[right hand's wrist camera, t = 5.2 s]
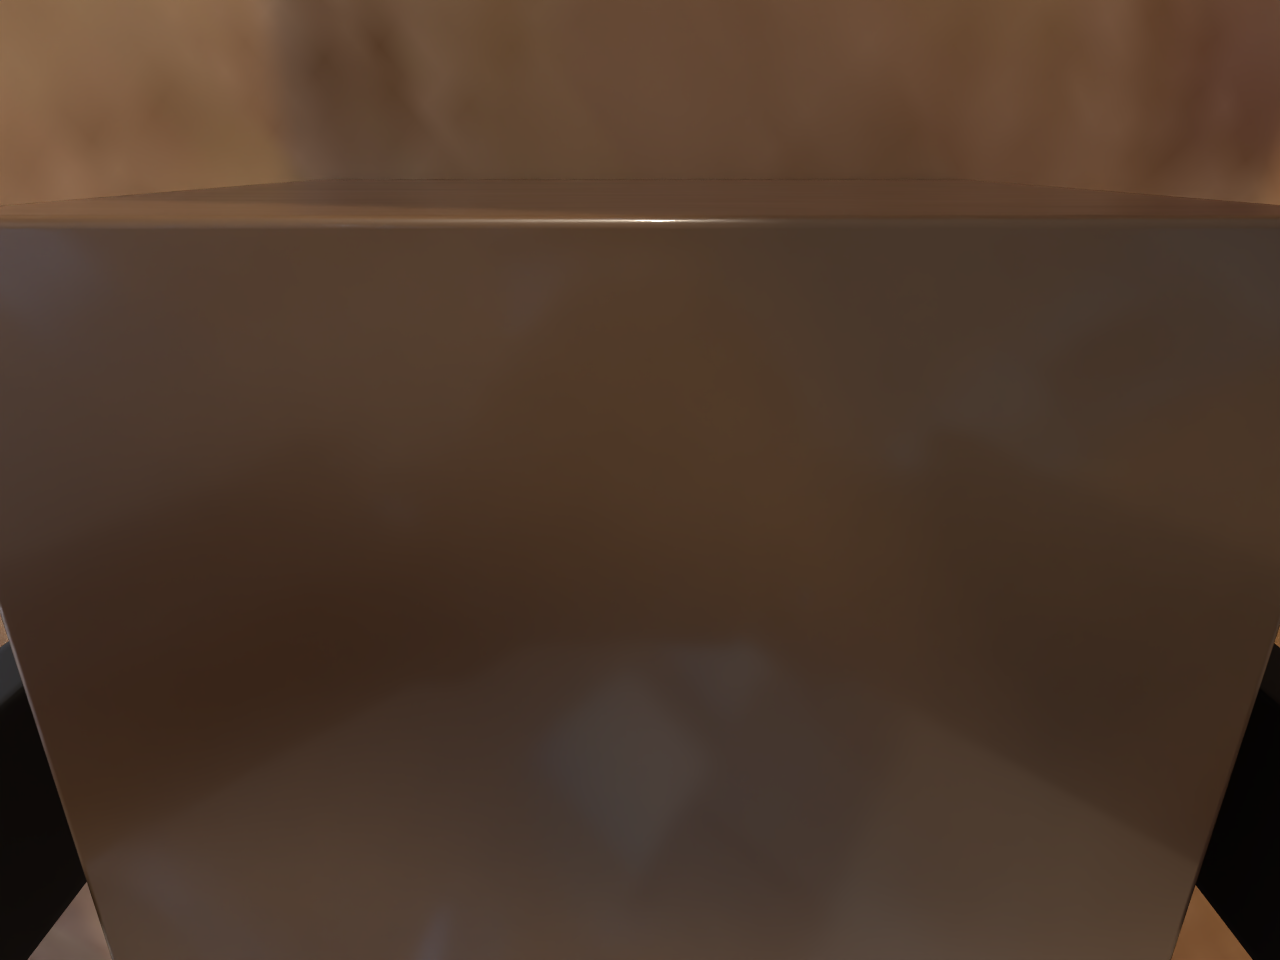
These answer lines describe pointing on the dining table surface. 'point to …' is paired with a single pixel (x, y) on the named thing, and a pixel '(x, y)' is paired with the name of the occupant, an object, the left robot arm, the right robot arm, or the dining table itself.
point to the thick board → (640, 562)
